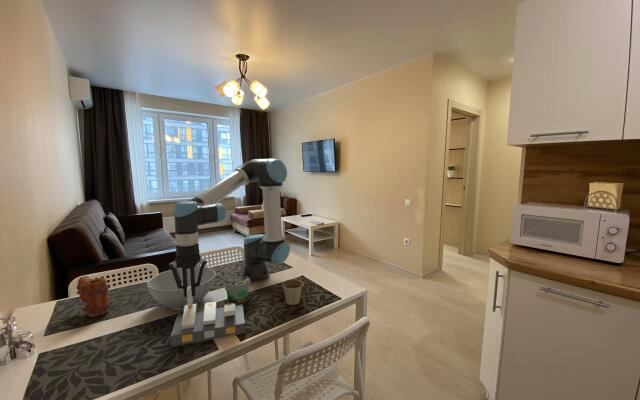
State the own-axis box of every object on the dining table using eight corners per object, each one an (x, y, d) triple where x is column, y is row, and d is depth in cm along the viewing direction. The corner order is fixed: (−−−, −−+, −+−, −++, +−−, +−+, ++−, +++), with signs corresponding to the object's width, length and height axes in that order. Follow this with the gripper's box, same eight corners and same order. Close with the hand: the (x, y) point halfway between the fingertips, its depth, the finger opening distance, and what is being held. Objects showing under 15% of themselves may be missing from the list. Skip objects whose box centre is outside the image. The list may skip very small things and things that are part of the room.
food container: (235, 311, 112) (234, 288, 111) (225, 307, 115) (224, 285, 114) (256, 299, 123) (256, 278, 121) (247, 295, 126) (246, 275, 125)
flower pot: (300, 308, 115) (300, 289, 114) (279, 306, 117) (279, 287, 116) (305, 298, 124) (305, 280, 123) (286, 296, 126) (286, 278, 125)
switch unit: (178, 324, 103) (177, 311, 102) (242, 313, 111) (242, 302, 110) (171, 347, 89) (170, 333, 89) (245, 333, 97) (244, 320, 97)
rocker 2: (205, 306, 103) (205, 302, 103) (216, 304, 105) (216, 301, 104) (203, 325, 94) (203, 321, 94) (215, 323, 96) (215, 319, 95)
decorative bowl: (227, 302, 119) (226, 276, 118) (160, 328, 100) (158, 297, 98) (201, 284, 137) (200, 262, 136) (141, 303, 118) (139, 277, 117)
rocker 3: (224, 309, 106) (224, 304, 106) (235, 307, 107) (235, 303, 107) (224, 316, 96) (224, 311, 96) (235, 314, 98) (235, 309, 98)
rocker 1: (185, 308, 101) (184, 305, 100) (196, 307, 102) (196, 303, 102) (181, 329, 92) (181, 325, 92) (194, 327, 94) (193, 323, 93)
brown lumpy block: (116, 310, 112) (114, 276, 110) (95, 321, 104) (91, 284, 102) (93, 304, 116) (90, 271, 115) (71, 314, 109) (67, 279, 107)
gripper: (165, 248, 92) (168, 312, 95) (205, 244, 96) (208, 306, 99) (169, 242, 99) (172, 302, 102) (207, 239, 103) (209, 297, 106)
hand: (190, 304), depth 100 cm, fingers closed
